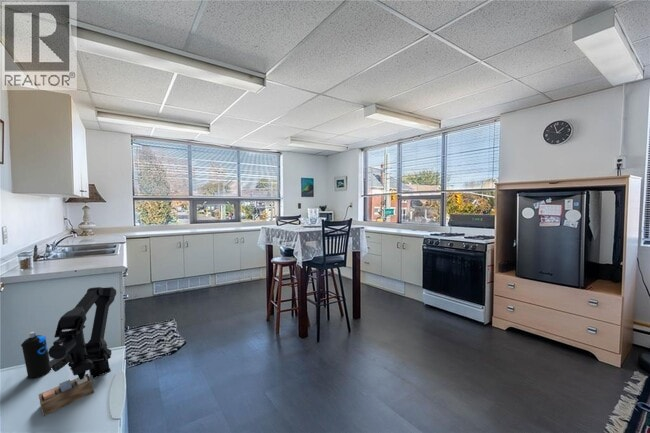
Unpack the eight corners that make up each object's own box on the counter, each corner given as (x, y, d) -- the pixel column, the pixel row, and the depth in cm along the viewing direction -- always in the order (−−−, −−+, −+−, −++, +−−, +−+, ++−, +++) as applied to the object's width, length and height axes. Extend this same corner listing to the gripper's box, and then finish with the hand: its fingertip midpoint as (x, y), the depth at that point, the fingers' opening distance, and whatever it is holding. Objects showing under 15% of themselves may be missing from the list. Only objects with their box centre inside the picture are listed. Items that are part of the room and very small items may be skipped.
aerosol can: (23, 381, 130) (15, 339, 127) (31, 370, 137) (23, 330, 134) (48, 375, 133) (40, 334, 130) (54, 365, 141) (47, 326, 138)
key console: (89, 384, 127) (87, 373, 126) (93, 392, 122) (92, 381, 121) (40, 405, 115) (38, 394, 114) (43, 416, 110) (41, 404, 109)
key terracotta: (55, 397, 117) (53, 388, 116) (56, 401, 114) (55, 392, 114) (44, 402, 114) (42, 393, 114) (45, 406, 112) (43, 397, 112)
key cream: (86, 383, 124) (85, 375, 124) (88, 386, 122) (87, 378, 121) (77, 387, 122) (75, 379, 121) (78, 390, 120) (77, 382, 119)
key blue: (71, 387, 120) (69, 379, 120) (72, 391, 118) (71, 382, 118) (60, 392, 118) (59, 383, 117) (62, 396, 116) (60, 387, 115)
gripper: (45, 344, 119) (51, 379, 121) (53, 363, 107) (60, 401, 109) (80, 333, 127) (85, 365, 130) (91, 348, 115) (96, 384, 118)
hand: (81, 378), depth 121 cm, fingers closed, pressing on key cream
